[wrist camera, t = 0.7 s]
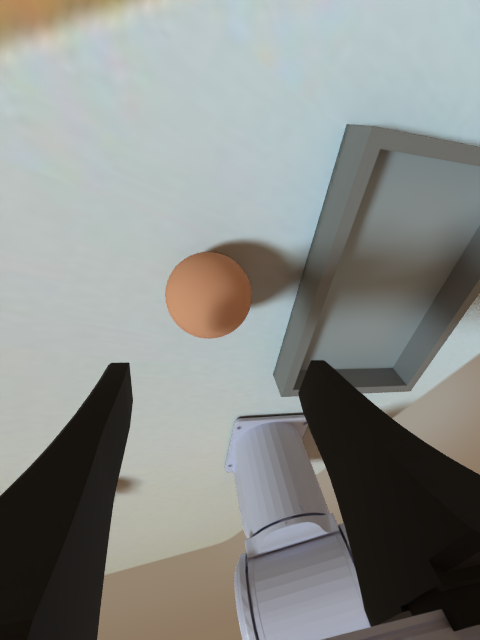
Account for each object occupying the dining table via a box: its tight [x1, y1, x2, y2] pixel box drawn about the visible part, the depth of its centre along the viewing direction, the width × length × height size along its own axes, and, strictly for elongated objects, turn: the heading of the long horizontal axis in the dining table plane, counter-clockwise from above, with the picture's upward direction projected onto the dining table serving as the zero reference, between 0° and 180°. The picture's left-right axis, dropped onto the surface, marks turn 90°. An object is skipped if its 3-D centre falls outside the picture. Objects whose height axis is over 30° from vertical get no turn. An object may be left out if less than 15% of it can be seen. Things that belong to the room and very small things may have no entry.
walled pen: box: [273, 124, 480, 397], centre depth 21 cm, size 19×13×2 cm
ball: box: [165, 252, 252, 338], centre depth 17 cm, size 5×5×5 cm
